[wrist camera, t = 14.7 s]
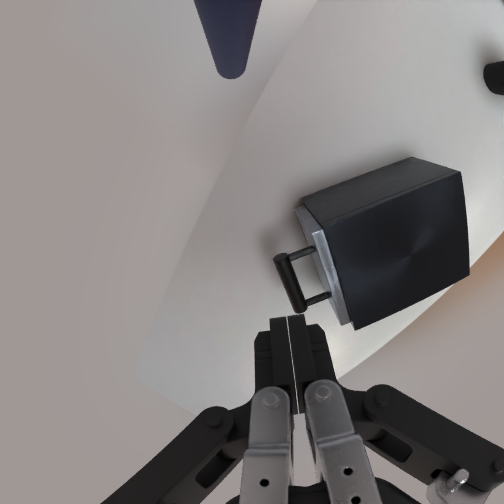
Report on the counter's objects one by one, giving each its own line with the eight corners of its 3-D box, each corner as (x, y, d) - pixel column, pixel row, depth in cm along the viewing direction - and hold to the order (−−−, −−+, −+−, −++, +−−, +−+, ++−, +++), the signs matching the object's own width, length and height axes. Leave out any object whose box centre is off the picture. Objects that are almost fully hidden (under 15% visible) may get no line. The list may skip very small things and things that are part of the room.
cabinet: (330, 285, 41) (355, 331, 32) (300, 198, 37) (324, 226, 27) (428, 242, 40) (469, 275, 30) (412, 156, 35) (461, 171, 25)
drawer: (292, 300, 41) (304, 340, 33) (259, 222, 36) (267, 250, 29) (417, 247, 39) (450, 275, 31) (401, 167, 35) (440, 181, 27)
